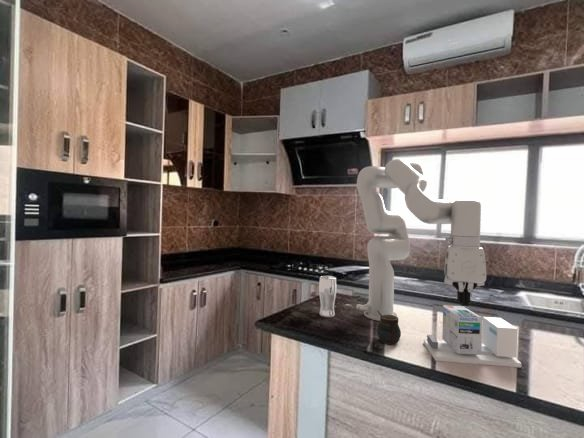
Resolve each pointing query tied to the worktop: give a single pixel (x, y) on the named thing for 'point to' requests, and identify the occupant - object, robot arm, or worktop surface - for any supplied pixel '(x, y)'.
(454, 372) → the worktop surface
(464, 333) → the light bulb box
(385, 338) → the mate gourd
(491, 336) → the mounted module
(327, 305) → the beer glass
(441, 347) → the mounting plate
